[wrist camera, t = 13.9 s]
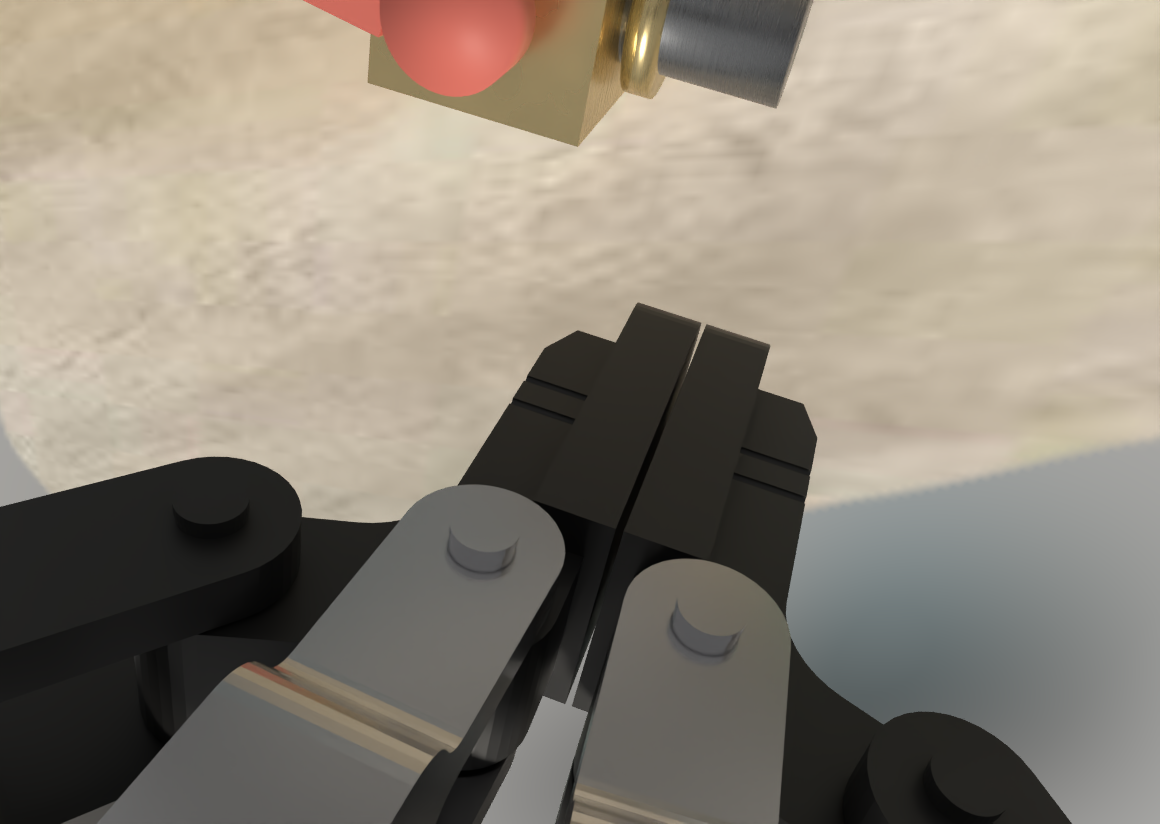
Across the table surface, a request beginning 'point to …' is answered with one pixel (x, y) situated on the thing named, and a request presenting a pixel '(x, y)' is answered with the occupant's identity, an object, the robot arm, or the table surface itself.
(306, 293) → the table surface
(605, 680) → the robot arm
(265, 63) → the table surface
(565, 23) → the valve body
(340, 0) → the lever
